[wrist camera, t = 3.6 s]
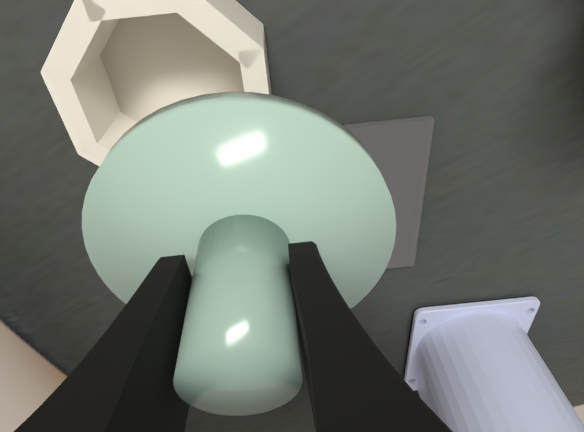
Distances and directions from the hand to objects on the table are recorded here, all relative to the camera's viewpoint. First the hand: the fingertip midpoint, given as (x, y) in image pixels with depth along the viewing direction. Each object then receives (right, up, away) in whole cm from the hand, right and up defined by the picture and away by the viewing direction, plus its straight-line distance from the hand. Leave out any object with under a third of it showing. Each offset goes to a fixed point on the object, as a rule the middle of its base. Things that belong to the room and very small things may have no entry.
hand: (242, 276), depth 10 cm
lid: (0, +1, +1) cm, 2 cm away
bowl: (-3, +7, +6) cm, 10 cm away
